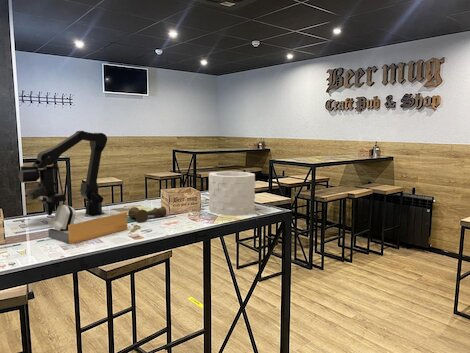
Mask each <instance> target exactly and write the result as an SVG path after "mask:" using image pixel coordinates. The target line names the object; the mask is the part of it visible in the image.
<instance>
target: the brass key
mask: <svg viewBox="0 0 470 353" xmlns="http://www.w3.org/2000/svg"><path fill="white" fill-rule="evenodd" d="M140 229H141V226H140V225H134V226H133V228H132V229H131V230H129V231H130V233H135V232H136V231H137V230H140Z"/></svg>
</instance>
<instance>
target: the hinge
mask: <svg viewBox="0 0 470 353" xmlns="http://www.w3.org/2000/svg"><path fill="white" fill-rule="evenodd" d="M75 218H76V210H75V209H74V207H72V206H69V205H67V204H60V205H57V209H56V211H55V213H54V216H53V218H51V219H50V220H49V225H50V226H52V229H55V230H59V231H61V230H66V229H67V230H68V225H70V224H75Z"/></svg>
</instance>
